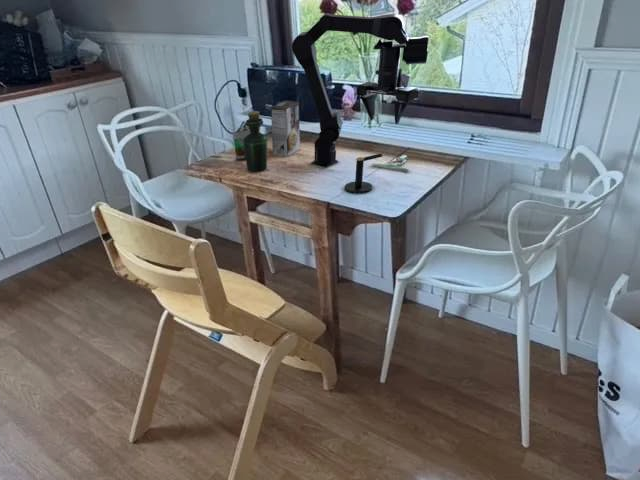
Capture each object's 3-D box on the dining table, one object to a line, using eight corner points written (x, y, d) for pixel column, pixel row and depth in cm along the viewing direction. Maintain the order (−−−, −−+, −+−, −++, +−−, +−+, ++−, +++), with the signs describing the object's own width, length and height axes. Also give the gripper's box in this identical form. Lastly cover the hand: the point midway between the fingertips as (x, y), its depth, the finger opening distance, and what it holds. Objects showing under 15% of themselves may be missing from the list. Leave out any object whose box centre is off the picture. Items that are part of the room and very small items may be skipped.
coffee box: (284, 147, 190) (283, 100, 180) (300, 149, 186) (300, 101, 176) (271, 155, 184) (270, 106, 174) (287, 157, 181) (286, 108, 171)
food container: (251, 162, 180) (249, 132, 174) (235, 162, 182) (232, 132, 176) (261, 150, 189) (260, 122, 183) (245, 150, 191) (243, 122, 184)
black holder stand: (339, 187, 155) (340, 157, 150) (372, 178, 158) (374, 149, 153) (354, 195, 149) (356, 165, 144) (388, 187, 152) (391, 156, 147)
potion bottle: (273, 168, 173) (271, 112, 162) (253, 175, 170) (249, 117, 159) (260, 163, 179) (257, 107, 168) (240, 169, 176) (236, 113, 165)
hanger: (408, 169, 159) (423, 157, 165) (371, 163, 166) (387, 152, 172) (408, 172, 160) (423, 160, 166) (371, 166, 166) (387, 155, 173)
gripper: (433, 62, 148) (426, 119, 157) (379, 58, 160) (375, 111, 169) (410, 70, 143) (404, 128, 152) (356, 65, 155) (353, 120, 164)
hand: (384, 121), depth 160 cm, fingers open, 9 cm apart
